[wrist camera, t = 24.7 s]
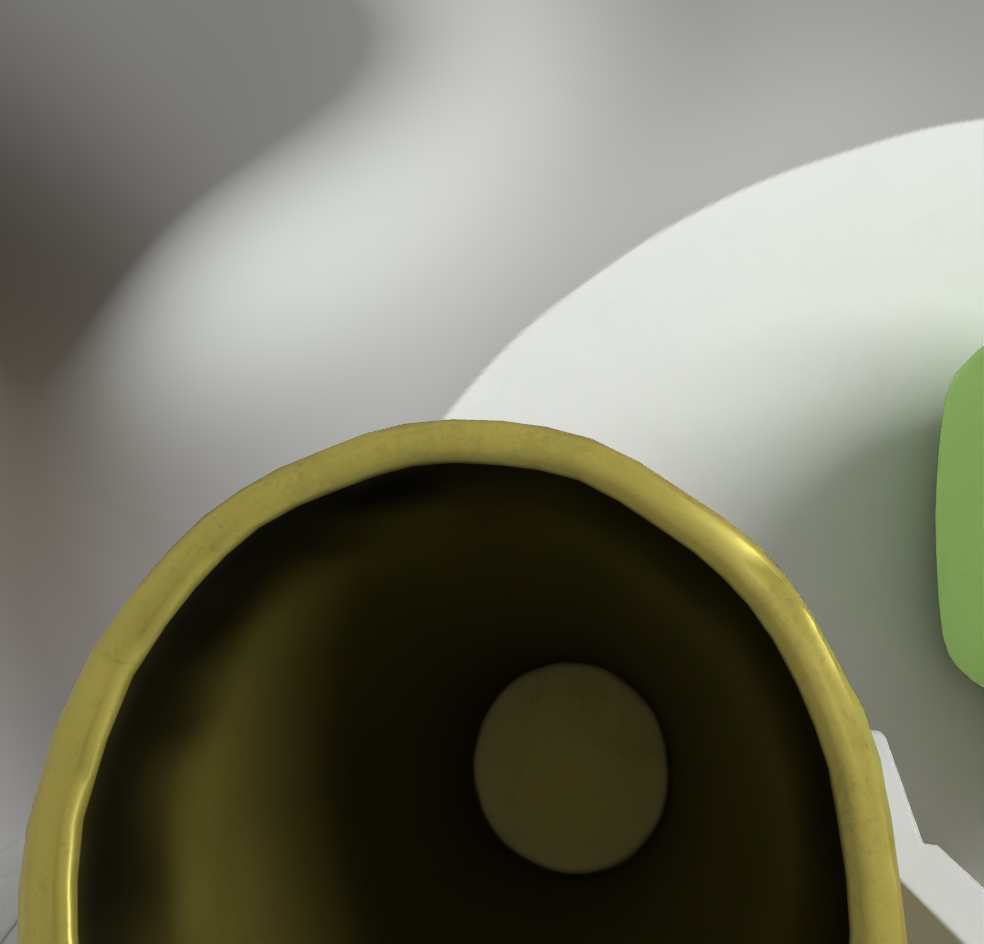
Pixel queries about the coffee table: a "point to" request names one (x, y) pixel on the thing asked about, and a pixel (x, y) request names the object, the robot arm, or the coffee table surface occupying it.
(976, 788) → the coffee table surface
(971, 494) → the teapot
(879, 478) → the coffee table surface
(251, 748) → the vase
